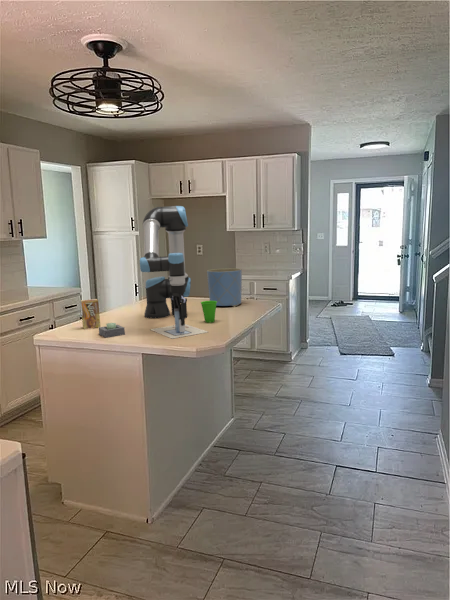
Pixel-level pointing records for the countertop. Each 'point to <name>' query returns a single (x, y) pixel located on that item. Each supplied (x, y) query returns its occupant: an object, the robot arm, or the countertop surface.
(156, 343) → the countertop surface
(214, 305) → the cup
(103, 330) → the button housing
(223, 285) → the planter
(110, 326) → the button
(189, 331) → the picture sheet
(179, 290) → the robot arm
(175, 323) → the blue bottle
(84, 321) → the candy box
